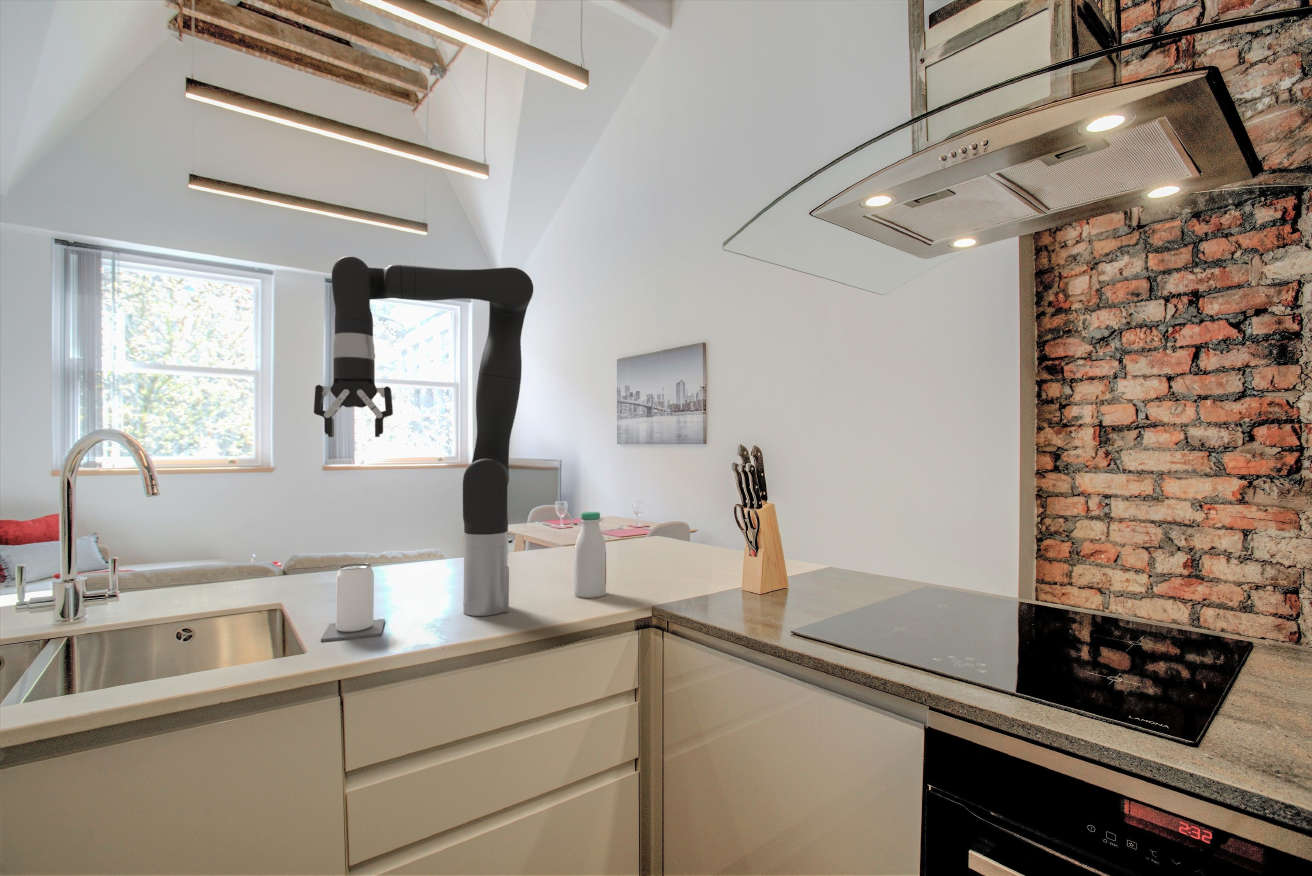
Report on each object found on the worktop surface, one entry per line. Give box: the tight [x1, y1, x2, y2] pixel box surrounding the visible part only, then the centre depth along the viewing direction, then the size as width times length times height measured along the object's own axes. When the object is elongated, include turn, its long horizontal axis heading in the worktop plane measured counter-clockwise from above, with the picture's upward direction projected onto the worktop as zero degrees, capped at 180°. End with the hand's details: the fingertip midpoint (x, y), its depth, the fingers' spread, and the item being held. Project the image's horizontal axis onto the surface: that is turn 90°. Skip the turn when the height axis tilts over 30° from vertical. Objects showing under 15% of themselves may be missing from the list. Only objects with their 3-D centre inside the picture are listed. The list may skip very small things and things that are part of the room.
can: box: [335, 562, 375, 632], centre depth 115 cm, size 6×6×12 cm
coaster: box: [320, 618, 386, 643], centre depth 115 cm, size 10×10×1 cm
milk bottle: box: [573, 511, 607, 599], centre depth 144 cm, size 8×8×20 cm
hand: (354, 437), depth 121 cm, fingers open, 8 cm apart
